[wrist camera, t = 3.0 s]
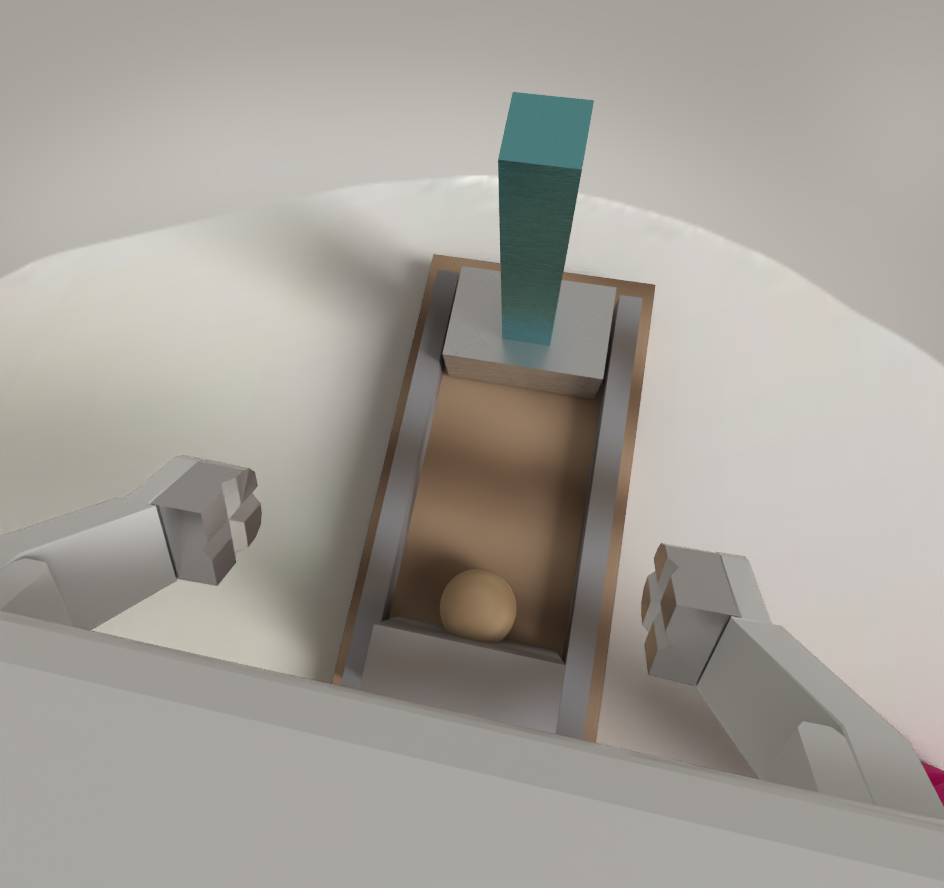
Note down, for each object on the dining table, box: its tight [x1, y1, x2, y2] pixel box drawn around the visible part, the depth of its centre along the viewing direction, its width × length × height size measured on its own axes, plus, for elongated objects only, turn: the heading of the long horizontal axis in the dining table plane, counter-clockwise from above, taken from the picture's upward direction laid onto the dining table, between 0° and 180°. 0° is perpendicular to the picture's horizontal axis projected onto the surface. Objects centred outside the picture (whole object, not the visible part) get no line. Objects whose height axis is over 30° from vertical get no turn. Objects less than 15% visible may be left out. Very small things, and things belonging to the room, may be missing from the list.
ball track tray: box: [332, 254, 655, 743], centre depth 27 cm, size 26×13×7 cm, turn 169°
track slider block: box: [443, 92, 616, 399], centre depth 23 cm, size 5×8×15 cm, turn 79°
